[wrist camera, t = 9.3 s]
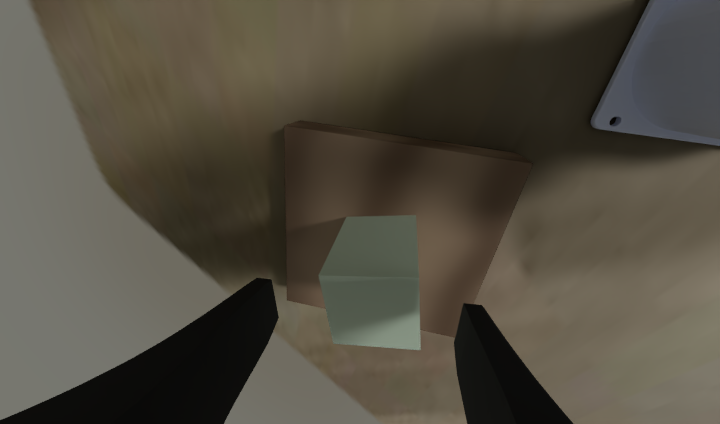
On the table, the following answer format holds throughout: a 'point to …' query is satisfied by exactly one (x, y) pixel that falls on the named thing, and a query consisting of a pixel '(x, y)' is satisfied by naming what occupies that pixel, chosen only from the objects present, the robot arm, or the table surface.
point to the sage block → (374, 283)
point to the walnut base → (399, 207)
